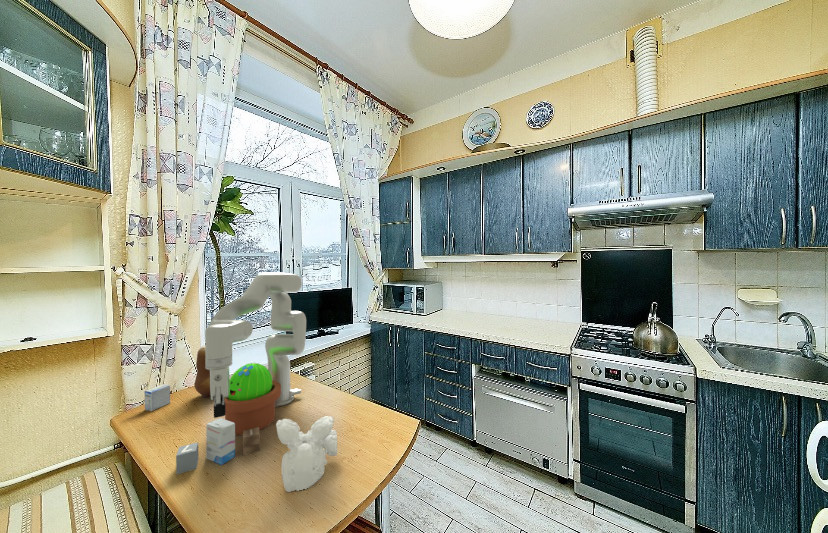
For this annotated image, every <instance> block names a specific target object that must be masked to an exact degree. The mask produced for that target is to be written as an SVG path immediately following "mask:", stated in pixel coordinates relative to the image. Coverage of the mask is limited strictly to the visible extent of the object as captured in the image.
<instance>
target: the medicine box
mask: <svg viewBox="0 0 828 533" xmlns="http://www.w3.org/2000/svg"><path fill="white" fill-rule="evenodd" d="M170 403H171V385H169V384H164V383H163V384H160V385H157V386H155V387H153V388H150V389H146V390H145V391H144V410H145V411H149V412H153V411H155V410H157V409H159V408H162V407H164V406H166V405H168V404H170Z"/></svg>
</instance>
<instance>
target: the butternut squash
mask: <svg viewBox="0 0 828 533" xmlns="http://www.w3.org/2000/svg"><path fill="white" fill-rule="evenodd" d="M195 367H196V376H195V380H194V389H195V391H196V392H197V393H198V394H199V395H201V396H202V397H204V398H206V399H211V394H210V370H208V369H206V355H205V344H204V345H203V346H201V347H200V348H199V349H198V350H197V354H196V363H195Z"/></svg>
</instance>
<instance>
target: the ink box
mask: <svg viewBox="0 0 828 533" xmlns="http://www.w3.org/2000/svg"><path fill="white" fill-rule="evenodd" d="M205 428H206V437H205V438H206V441H205V442H206V443H205V444H206V448H205V449H206V452H205V453H206V456H205V457H206V459H207V460H209V461H211V462H213V463H216V464H218V465H220V466H223V465H224V464H226V463H227V462H228V461H231V460H232V459H234V458H235V457H236V435H235V423H233V422H231V421H228V420H225V419H224V418H222V417H218V418H216V419H214V420H212V421H210V422H207V423H206V427H205Z"/></svg>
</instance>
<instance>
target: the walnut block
mask: <svg viewBox="0 0 828 533" xmlns="http://www.w3.org/2000/svg"><path fill="white" fill-rule="evenodd" d="M260 435H261V434H260V430H259V427H257V428H253V429H249V430H245V431H243V435H242V452H243V454H242V455H243V456H246V455H249V454H252V453H257V452H260V450H261V448H260V446H261V444H260V442H261V441H260V437H261V436H260Z"/></svg>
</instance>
